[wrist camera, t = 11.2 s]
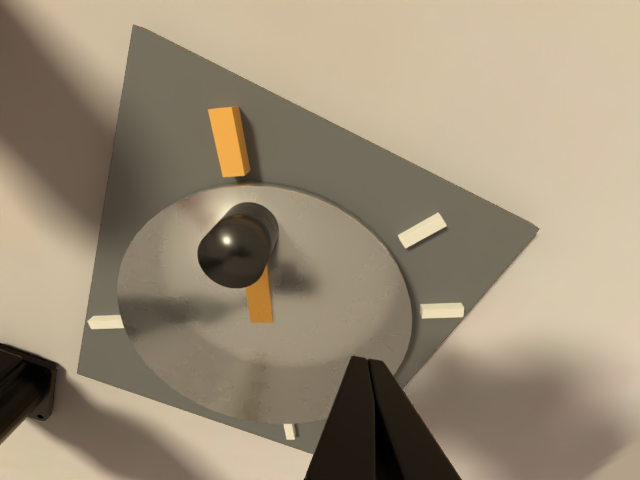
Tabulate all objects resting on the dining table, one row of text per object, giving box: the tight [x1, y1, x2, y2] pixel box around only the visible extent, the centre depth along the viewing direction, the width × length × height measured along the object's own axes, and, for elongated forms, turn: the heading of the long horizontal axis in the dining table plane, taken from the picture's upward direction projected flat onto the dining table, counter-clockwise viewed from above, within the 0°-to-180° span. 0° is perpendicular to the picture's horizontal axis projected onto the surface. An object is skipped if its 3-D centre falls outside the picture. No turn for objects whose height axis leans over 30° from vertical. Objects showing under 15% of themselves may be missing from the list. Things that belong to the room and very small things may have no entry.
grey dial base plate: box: [77, 25, 539, 454], centre depth 18 cm, size 22×20×2 cm
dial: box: [117, 181, 412, 424], centre depth 16 cm, size 16×16×4 cm
